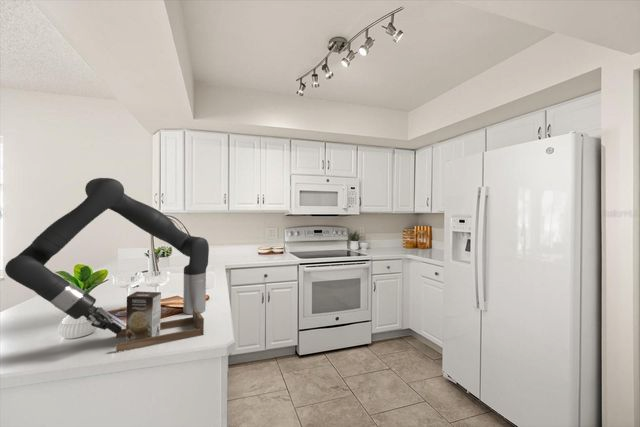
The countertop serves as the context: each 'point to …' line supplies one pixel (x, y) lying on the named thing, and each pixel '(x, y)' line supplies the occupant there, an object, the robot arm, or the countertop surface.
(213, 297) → the countertop surface
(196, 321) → the walnut chute
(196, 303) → the robot arm
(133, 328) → the coffee box
